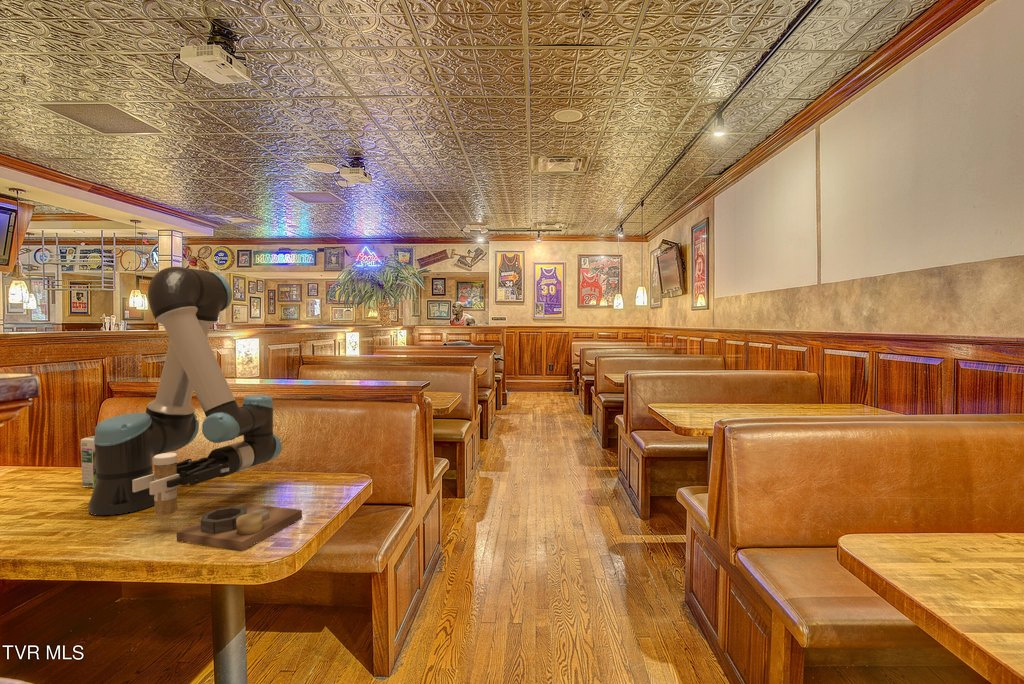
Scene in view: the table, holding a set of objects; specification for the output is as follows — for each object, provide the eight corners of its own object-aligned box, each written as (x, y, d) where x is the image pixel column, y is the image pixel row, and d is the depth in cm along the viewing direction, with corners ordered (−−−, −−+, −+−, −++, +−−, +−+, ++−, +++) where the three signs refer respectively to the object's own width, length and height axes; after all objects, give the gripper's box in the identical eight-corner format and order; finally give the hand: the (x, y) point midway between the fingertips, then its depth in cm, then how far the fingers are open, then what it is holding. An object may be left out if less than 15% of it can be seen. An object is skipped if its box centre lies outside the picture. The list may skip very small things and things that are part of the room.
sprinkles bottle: (172, 515, 112) (172, 456, 112) (149, 516, 111) (149, 457, 111) (181, 507, 117) (180, 451, 116) (159, 509, 116) (158, 452, 115)
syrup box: (81, 487, 144) (78, 438, 144) (102, 481, 150) (100, 434, 150) (96, 489, 143) (94, 439, 142) (116, 482, 149) (114, 435, 148)
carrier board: (176, 541, 108) (175, 518, 108) (242, 510, 125) (242, 491, 125) (242, 551, 103) (241, 527, 103) (302, 518, 120) (301, 497, 120)
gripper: (256, 476, 129) (172, 509, 106) (204, 470, 134) (113, 499, 111) (256, 448, 128) (172, 474, 106) (204, 442, 133) (113, 466, 111)
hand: (142, 487), depth 109 cm, fingers closed on sprinkles bottle, 4 cm apart
